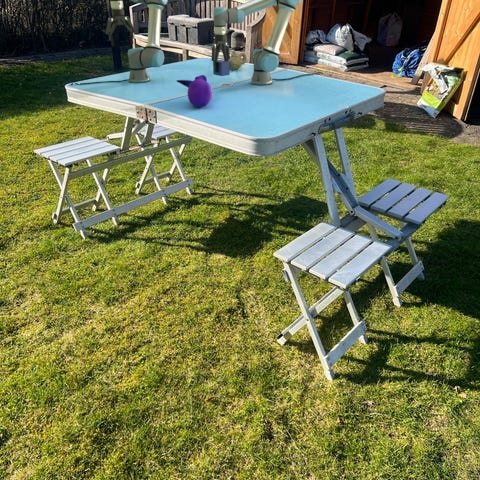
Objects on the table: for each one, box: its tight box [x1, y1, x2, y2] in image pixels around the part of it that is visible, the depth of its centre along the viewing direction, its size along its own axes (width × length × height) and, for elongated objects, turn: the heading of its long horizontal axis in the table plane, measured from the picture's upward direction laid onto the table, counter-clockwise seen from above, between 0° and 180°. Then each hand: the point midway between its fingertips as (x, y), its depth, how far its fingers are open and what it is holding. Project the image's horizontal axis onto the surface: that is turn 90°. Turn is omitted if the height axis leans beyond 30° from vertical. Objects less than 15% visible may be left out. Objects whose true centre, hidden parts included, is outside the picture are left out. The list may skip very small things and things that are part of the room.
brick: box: [212, 59, 230, 77], centre depth 300 cm, size 7×9×8 cm
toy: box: [176, 74, 214, 108], centre depth 269 cm, size 16×18×27 cm
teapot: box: [228, 50, 247, 72], centre depth 367 cm, size 21×12×15 cm, turn 120°
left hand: (122, 45), depth 292 cm, fingers open, 13 cm apart
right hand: (221, 71), depth 301 cm, fingers closed on brick, 7 cm apart
